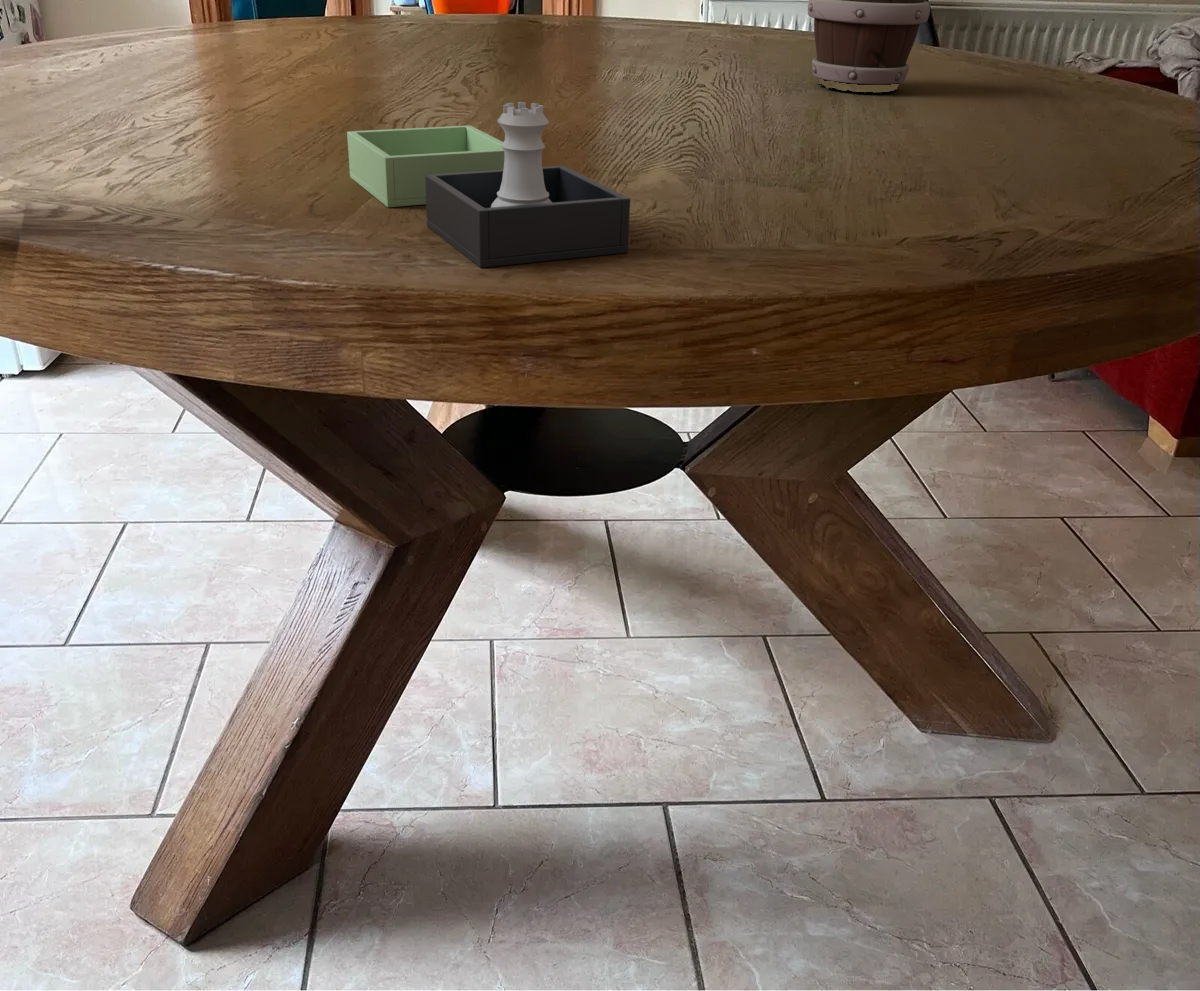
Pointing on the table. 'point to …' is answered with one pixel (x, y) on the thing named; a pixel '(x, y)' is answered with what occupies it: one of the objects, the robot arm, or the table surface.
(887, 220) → the table surface
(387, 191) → the sage bin
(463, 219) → the charcoal bin
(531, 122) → the rook chess piece
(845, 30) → the wooden barrel
